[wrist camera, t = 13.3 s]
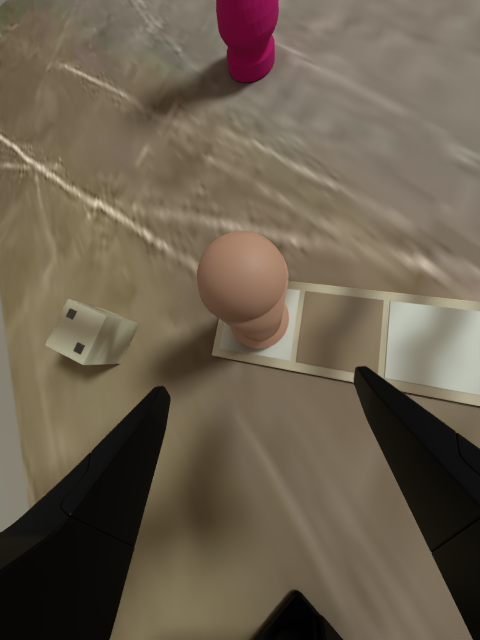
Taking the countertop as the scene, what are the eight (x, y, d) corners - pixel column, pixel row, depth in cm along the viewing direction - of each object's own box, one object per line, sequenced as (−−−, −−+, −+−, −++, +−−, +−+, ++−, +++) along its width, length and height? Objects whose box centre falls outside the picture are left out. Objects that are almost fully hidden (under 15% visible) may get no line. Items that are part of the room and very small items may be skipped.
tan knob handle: (284, 352, 21) (301, 343, 7) (227, 343, 22) (149, 321, 9) (291, 295, 22) (318, 193, 8) (236, 289, 23) (179, 191, 9)
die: (121, 363, 25) (82, 365, 20) (88, 347, 26) (44, 345, 21) (139, 323, 25) (106, 315, 20) (106, 309, 26) (67, 298, 21)
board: (486, 304, 19) (490, 302, 19) (485, 407, 18) (489, 408, 18) (228, 275, 24) (227, 274, 24) (212, 355, 23) (211, 355, 22)
